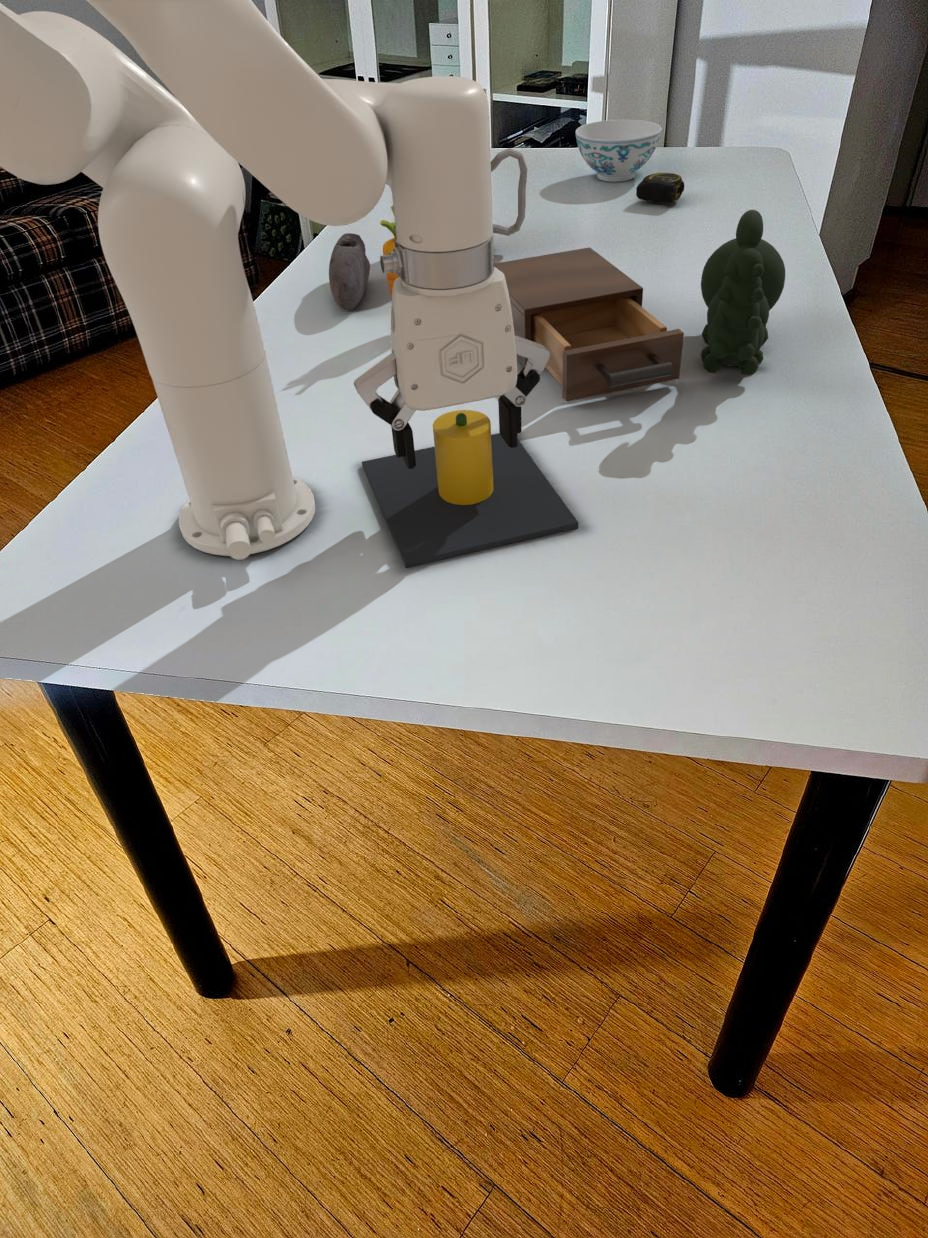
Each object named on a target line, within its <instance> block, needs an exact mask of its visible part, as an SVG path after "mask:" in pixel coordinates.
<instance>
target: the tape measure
mask: <svg viewBox="0 0 928 1238" xmlns="http://www.w3.org/2000/svg"><path fill="white" fill-rule="evenodd" d="M635 189H636V191H635V195H636V198H637V199H639V200H641V201H646V202H649V203H650V202H651V203H653V204H654V205H660V204H671V205H673V204H674V203H675V202H676V201H677V200H679V199H680V198H681V196H682V194H683V192H684V191H685V181H684V180H683V178H682V176H681V175H680V174H677V173H673V172H656V173H651V174H648V175H646V176H644V178H643V179H642V181H641V182H639V183H638V185H637V186H636V188H635Z"/></svg>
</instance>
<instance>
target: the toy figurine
mask: <svg viewBox="0 0 928 1238" xmlns="http://www.w3.org/2000/svg"><path fill="white" fill-rule="evenodd" d="M763 219H764V218H763V216H762V214H761V213H760V212H759V211H758V210H757V209H748V210H747V211H745V212H744V213H743V214H742V215H741V217H740V219H739V221H738V223H737V226H736V231H735V238H732V239H729V240H727V241H726V242H724V243H723V244H722V245H720V246H719V247H717V249H715V250H714V251H713V252H712V253H711V255H710V256H709V257H708V258H707V260H706V262H705V264H704V266H703V270H702V273H701V279H700V290H701V291H700V292H701V296H702V299H703V302H704V304H705V305H706V308H707V312H706V323H707V324H705V326H704V327H703V329H702V332H701V337H702V340H703V342H704V343H705V344H706V345H707V346H706V347H705V346H704V347H703V348H702V351H701V352H700V354H699V355H700V359H701V361H702V365H703V369H704V370H705V372H707V373H709V374H710V373H711V374H716V373H718V372H719V371H720V370H721V368H722V367H723V366H726V367H738V369H739V372H740V374H742V375H743V376H752V375H753V374H755V373H756V372H757V371H758V369H759V366H760V365H761V363H762V362H763V361H764V352H763V351H762V350H761V348H762V347H763V346H764V345H765V343H766V342H767V341H768V339H769V332H768V328H767V323H768V321H769V318H770V311H771V310H772V309H773V308H774V307H775V305H776V304H777V303H778V302H779V300H780V298H781V296H782V293H783V291H784V287H785V282H786V266H785V263H784V260H783V258H782V256H781V254H780V252H779V251H778V250H777V249H776V248H775V247H774V246H773V245H772V244H771V243H769V242H768V241H766V240H764V239H762V238H763V235H764V220H763Z"/></svg>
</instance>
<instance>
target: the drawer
mask: <svg viewBox="0 0 928 1238" xmlns="http://www.w3.org/2000/svg"><path fill="white" fill-rule="evenodd" d="M684 337H685V332H684V331H682V330H681V329H680V328H676V329H669V330H668V327H667V326H666V325H665V324H664V323H663V322H661V321H660V320H658V318H656V317H655V316H654V315H653V314H651V313H650V312H649V311H648V310H646V309H645V308H644V307H643V306H642V307H641V306H640V305H639V304H637V303H636V302H635V301H634V300H632V299H631V298H630V297H626V298H621V299H616V300H610V301H605V302H599V303H594V304H588V305H583V306H577V307H572V308H566V309H561V310H555V311H550V312H544V313H539V314H533V315H531V341H533V342H536V343H539V344H542V345H544V346H545V347H546V348H547V349H548V351H549V352H550V357H549V359H548V361H547V364H546V366H545V368H544V369H546V370H547V372H549V374H550V375H551V376H552V377H553V378H554V379H555V380H556V381H557V383H558V384H559V385H560V386H561V387H562V392H561V393H562V394H561V395H562V396H561V397H562V399H563V400H564V401H565V402H571V401H577V400H581V399H587V398H592V397H596V396H602V395H606V394H611V393H616V392H621V391H627V390H631V389H636V388H641V387H645V386H650V385H651V386H652V385H656V384H661V383H666V382H670V381H675V380H680V373H681V366H682V355H683V346H684Z"/></svg>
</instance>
